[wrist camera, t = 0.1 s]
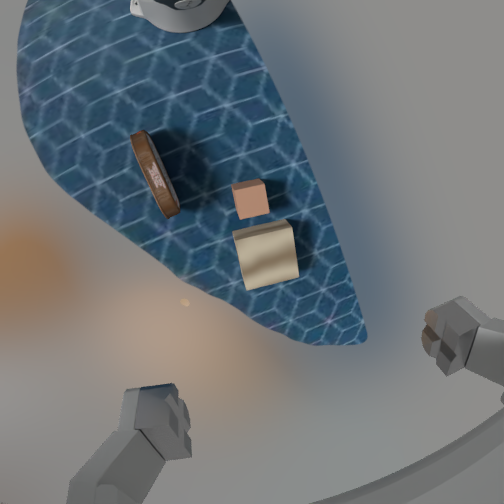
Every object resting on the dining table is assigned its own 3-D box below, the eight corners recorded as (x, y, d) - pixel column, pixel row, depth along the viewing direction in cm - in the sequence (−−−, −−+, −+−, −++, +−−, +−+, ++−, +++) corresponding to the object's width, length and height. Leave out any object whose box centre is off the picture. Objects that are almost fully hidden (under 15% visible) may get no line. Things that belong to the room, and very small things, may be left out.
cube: (231, 184, 54) (234, 190, 50) (259, 178, 55) (264, 183, 50) (236, 211, 56) (240, 219, 52) (263, 205, 57) (269, 212, 52)
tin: (134, 134, 48) (122, 137, 40) (150, 126, 48) (142, 127, 40) (168, 211, 54) (164, 227, 47) (184, 204, 54) (182, 218, 47)
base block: (232, 230, 58) (235, 240, 53) (284, 218, 59) (292, 227, 54) (242, 277, 62) (246, 290, 58) (291, 265, 63) (299, 277, 58)
